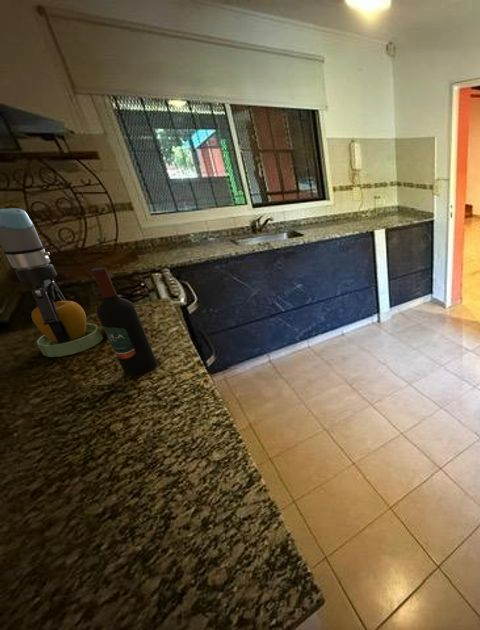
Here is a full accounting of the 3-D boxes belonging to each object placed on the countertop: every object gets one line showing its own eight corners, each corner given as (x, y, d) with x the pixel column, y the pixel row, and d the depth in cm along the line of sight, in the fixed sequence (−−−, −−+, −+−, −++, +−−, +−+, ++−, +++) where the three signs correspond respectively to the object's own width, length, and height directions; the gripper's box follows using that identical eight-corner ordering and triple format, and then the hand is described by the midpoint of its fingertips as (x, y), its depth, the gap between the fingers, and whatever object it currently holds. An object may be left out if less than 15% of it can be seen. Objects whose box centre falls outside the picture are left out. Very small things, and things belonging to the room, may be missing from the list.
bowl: (30, 359, 102) (22, 346, 100) (71, 335, 114) (65, 323, 112) (79, 358, 102) (72, 345, 100) (114, 334, 115) (109, 323, 113)
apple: (97, 328, 114) (80, 292, 108) (91, 342, 106) (72, 304, 100) (52, 336, 109) (32, 300, 103) (42, 352, 101) (19, 313, 95)
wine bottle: (161, 369, 97) (121, 268, 84) (128, 381, 92) (80, 276, 79) (154, 359, 102) (114, 262, 88) (122, 370, 97) (75, 269, 83)
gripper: (43, 274, 90) (79, 345, 100) (58, 254, 107) (87, 317, 117) (2, 280, 86) (43, 354, 96) (24, 258, 103) (57, 323, 113)
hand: (68, 333), depth 106 cm, fingers closed on apple, 11 cm apart
